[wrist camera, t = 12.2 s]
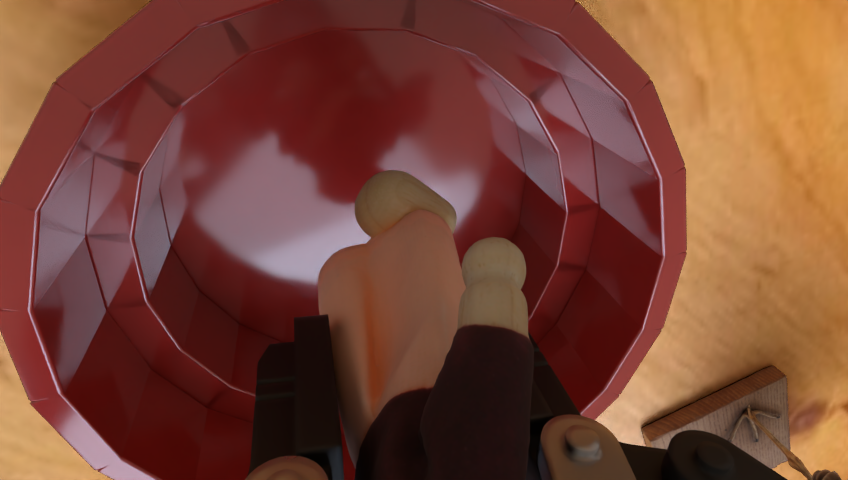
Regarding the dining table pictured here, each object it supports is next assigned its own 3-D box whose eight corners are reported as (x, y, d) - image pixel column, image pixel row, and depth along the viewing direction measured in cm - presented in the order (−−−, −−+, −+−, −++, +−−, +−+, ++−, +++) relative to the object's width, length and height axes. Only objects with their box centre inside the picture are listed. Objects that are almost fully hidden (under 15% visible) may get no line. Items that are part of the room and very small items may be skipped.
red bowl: (157, 394, 20) (102, 579, 14) (35, -70, 13) (-178, -86, 7) (531, 350, 24) (614, 486, 18) (599, -42, 16) (779, -37, 10)
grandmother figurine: (321, 125, 13) (139, 1340, 2) (478, 136, 13) (1143, 1064, 2) (317, 373, 16) (250, 1285, 5) (441, 372, 17) (622, 1186, 6)
